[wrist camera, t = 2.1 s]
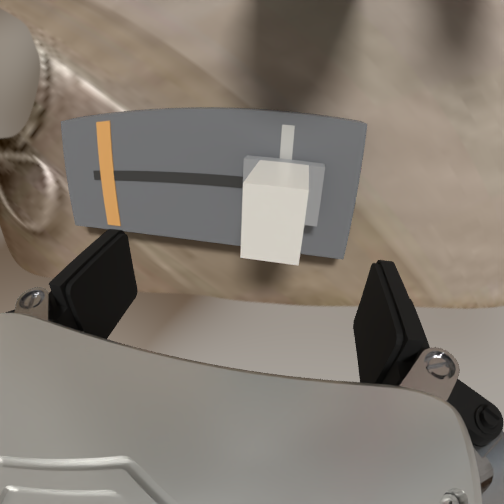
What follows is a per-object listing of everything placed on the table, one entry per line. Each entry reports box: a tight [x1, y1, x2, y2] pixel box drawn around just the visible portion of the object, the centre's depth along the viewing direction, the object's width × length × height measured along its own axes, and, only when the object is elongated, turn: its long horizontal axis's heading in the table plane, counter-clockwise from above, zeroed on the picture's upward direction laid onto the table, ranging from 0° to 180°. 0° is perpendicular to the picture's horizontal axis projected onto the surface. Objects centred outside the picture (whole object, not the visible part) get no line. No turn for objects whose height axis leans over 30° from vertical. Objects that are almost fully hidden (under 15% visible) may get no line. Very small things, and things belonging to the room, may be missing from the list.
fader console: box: [61, 108, 367, 259], centre depth 21 cm, size 24×10×2 cm, turn 88°
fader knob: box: [240, 155, 325, 265], centre depth 17 cm, size 5×4×6 cm
